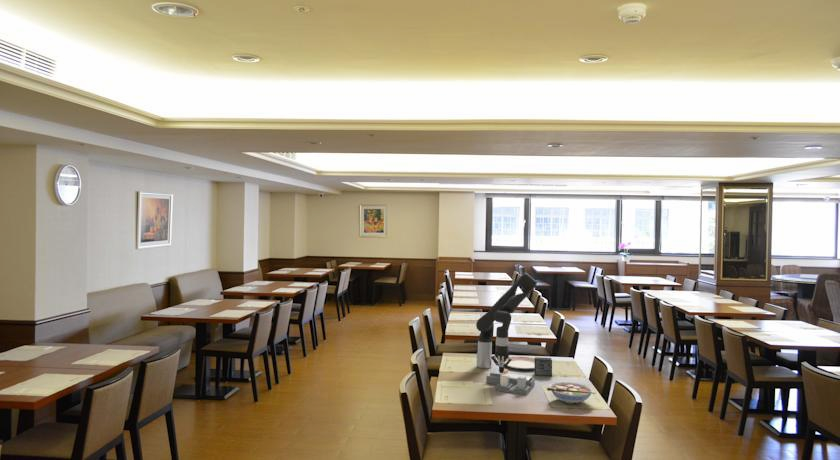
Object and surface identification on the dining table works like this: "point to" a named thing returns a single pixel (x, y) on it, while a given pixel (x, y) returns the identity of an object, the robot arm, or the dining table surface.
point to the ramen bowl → (570, 391)
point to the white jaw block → (504, 380)
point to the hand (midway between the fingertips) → (501, 372)
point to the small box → (543, 366)
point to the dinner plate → (521, 363)
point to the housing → (512, 384)
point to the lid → (515, 375)
